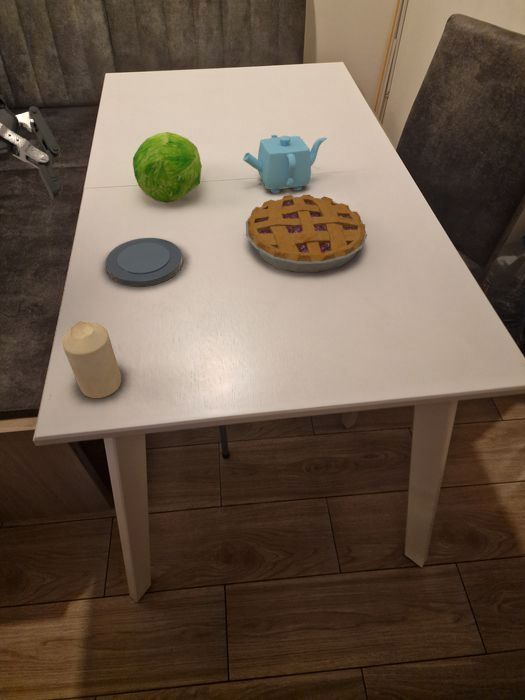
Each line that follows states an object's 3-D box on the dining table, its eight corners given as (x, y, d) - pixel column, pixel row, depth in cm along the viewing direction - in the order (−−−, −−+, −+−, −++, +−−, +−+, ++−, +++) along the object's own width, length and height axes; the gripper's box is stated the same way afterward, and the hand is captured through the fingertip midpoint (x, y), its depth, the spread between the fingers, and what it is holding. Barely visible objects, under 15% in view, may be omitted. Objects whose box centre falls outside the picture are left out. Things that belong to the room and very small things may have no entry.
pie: (341, 207, 99) (344, 184, 95) (382, 270, 84) (387, 245, 80) (235, 218, 95) (235, 195, 92) (258, 286, 80) (259, 261, 77)
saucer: (103, 289, 79) (101, 283, 78) (110, 245, 88) (108, 239, 87) (183, 283, 81) (182, 276, 80) (181, 240, 90) (180, 234, 89)
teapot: (250, 202, 100) (250, 154, 93) (236, 172, 109) (234, 126, 102) (332, 192, 103) (338, 145, 96) (311, 164, 113) (315, 119, 105)
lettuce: (208, 168, 111) (204, 113, 102) (201, 213, 97) (195, 153, 88) (147, 167, 111) (138, 113, 102) (132, 212, 97) (120, 153, 88)
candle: (130, 382, 65) (114, 328, 58) (95, 405, 63) (74, 352, 55) (106, 361, 68) (88, 307, 61) (71, 383, 65) (49, 329, 58)
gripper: (-130, 66, 48) (-50, 217, 50) (14, 42, 54) (81, 178, 56) (-109, 106, 55) (-40, 237, 57) (17, 81, 61) (77, 201, 63)
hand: (20, 208), depth 57 cm, fingers open, 8 cm apart
